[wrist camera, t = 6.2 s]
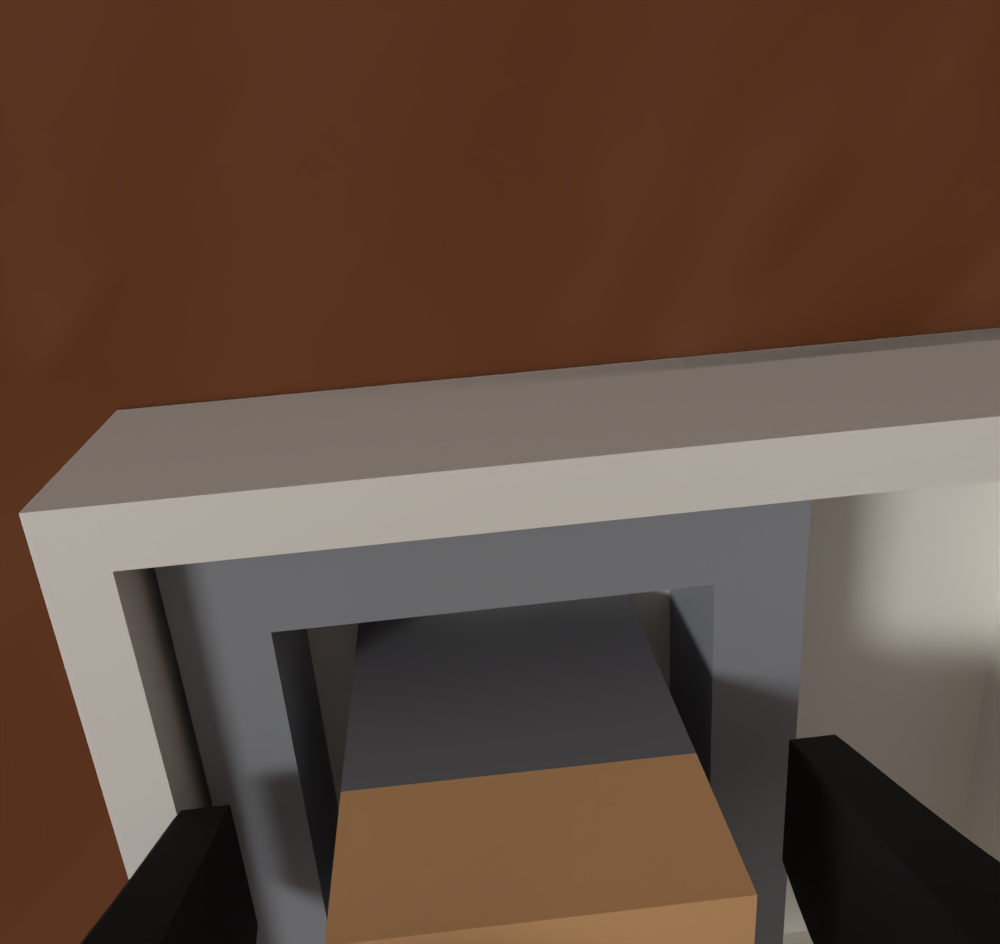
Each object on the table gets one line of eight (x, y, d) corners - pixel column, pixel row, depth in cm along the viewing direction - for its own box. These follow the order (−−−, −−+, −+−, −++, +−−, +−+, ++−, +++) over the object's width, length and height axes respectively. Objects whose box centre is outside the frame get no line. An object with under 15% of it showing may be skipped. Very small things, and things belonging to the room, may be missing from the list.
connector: (621, 580, 14) (757, 895, 8) (624, 787, 16) (739, 1167, 10) (360, 606, 14) (325, 946, 8) (389, 813, 15) (374, 1217, 10)
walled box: (1066, 321, 14) (1267, 389, 10) (967, 912, 18) (1086, 1086, 15) (117, 410, 13) (18, 513, 10) (261, 1002, 18) (226, 1207, 14)
